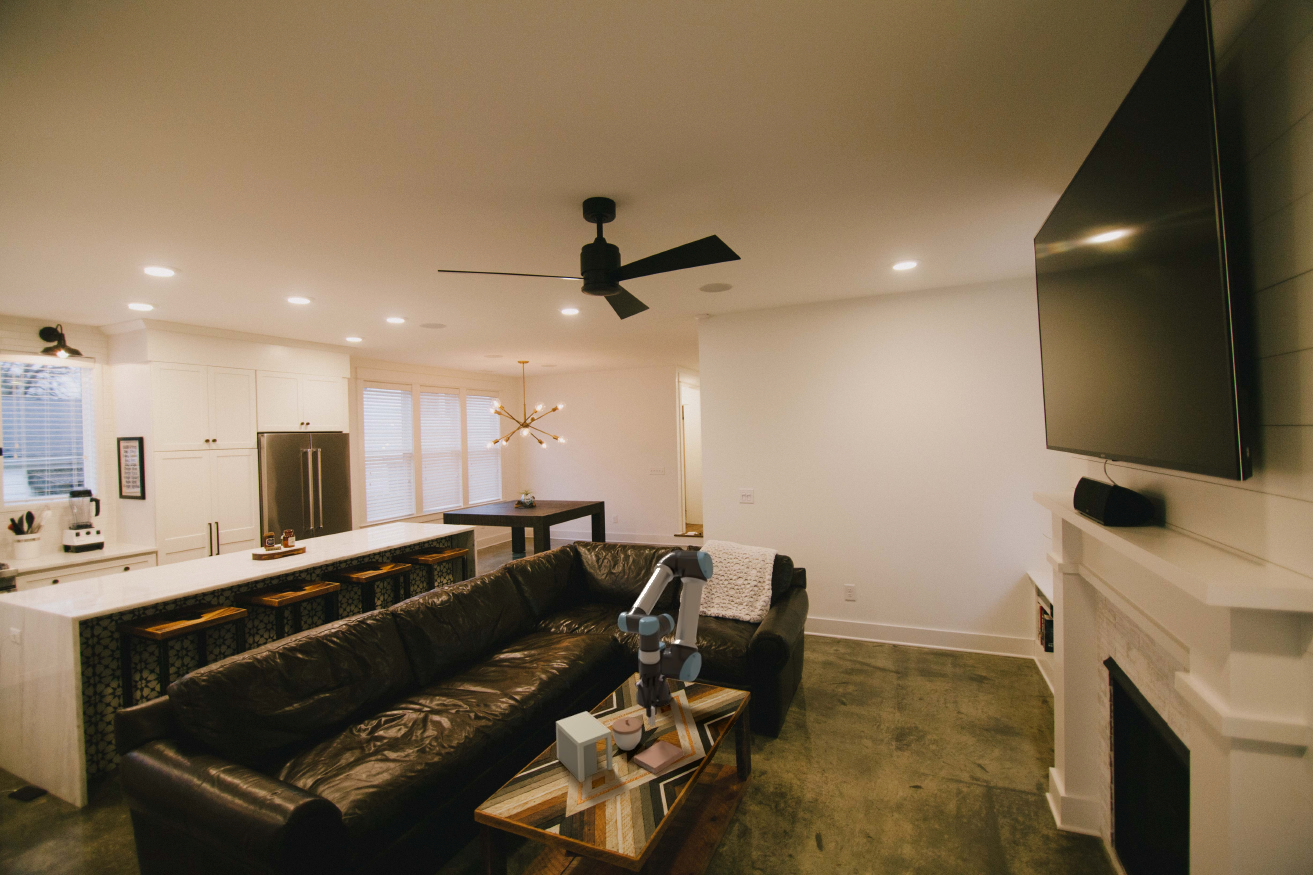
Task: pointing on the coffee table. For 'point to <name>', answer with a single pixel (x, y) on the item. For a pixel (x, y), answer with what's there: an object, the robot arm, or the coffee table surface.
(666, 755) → the book
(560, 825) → the coffee table surface
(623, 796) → the coffee table surface
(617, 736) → the lidded jar
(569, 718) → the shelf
